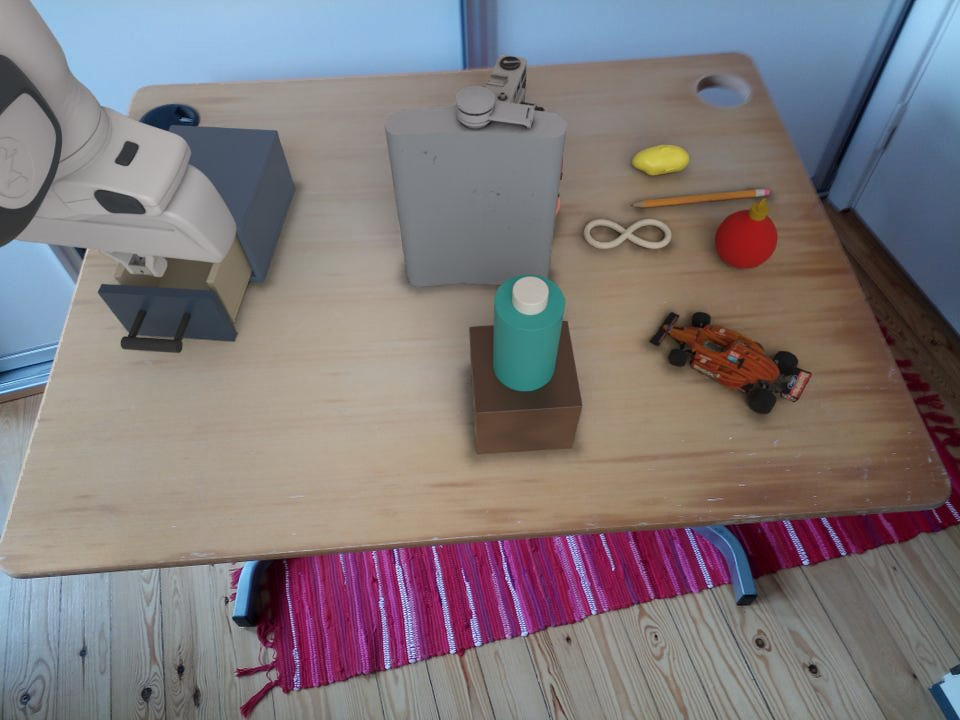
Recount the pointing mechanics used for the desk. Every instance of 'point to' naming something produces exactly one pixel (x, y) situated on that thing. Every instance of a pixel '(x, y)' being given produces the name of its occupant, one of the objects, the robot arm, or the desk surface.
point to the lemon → (661, 159)
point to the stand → (523, 402)
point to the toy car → (734, 361)
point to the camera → (510, 81)
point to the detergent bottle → (527, 331)
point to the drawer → (180, 301)
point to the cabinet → (246, 183)
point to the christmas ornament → (747, 237)
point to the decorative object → (627, 233)
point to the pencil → (702, 198)
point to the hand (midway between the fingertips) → (150, 269)
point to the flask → (475, 188)
